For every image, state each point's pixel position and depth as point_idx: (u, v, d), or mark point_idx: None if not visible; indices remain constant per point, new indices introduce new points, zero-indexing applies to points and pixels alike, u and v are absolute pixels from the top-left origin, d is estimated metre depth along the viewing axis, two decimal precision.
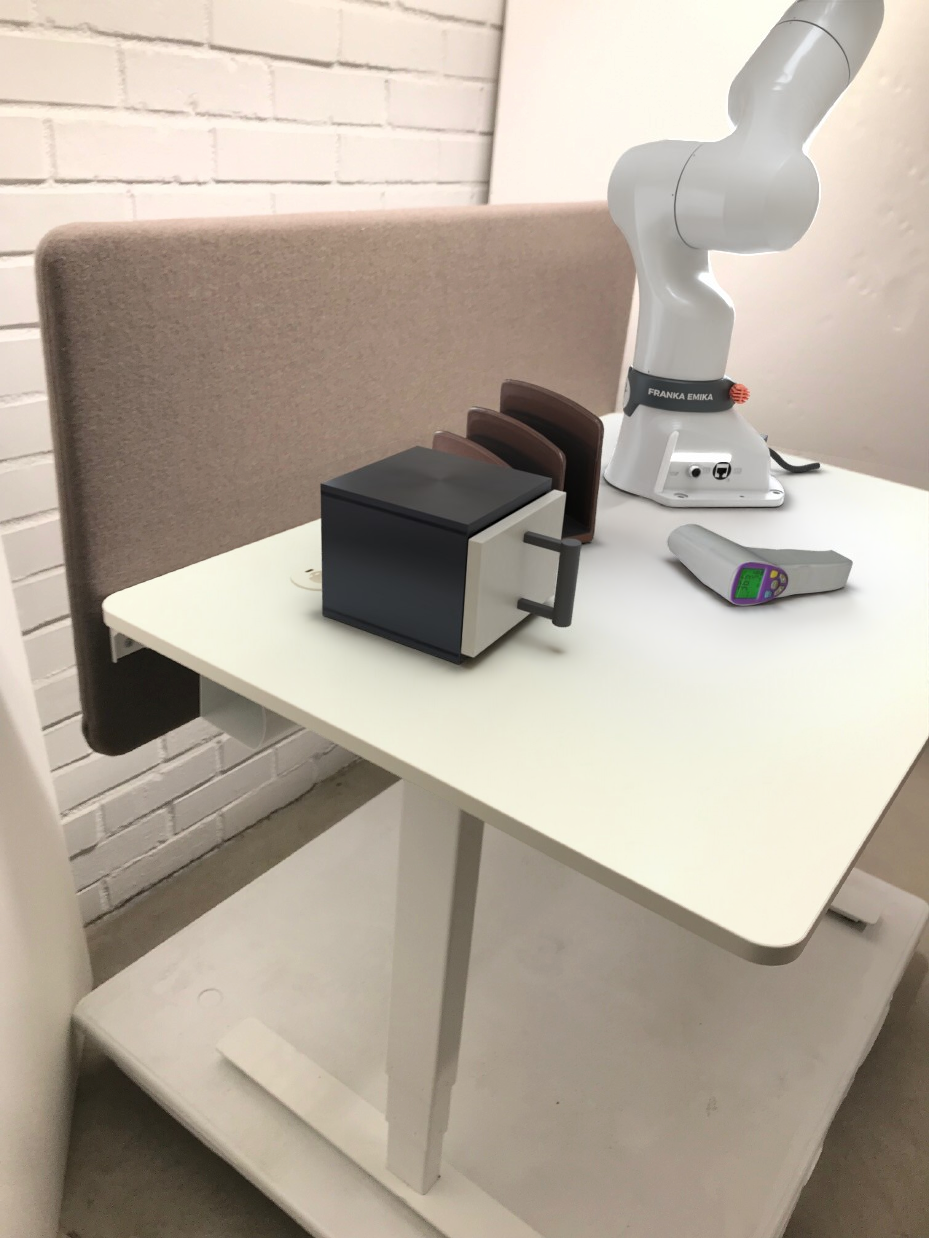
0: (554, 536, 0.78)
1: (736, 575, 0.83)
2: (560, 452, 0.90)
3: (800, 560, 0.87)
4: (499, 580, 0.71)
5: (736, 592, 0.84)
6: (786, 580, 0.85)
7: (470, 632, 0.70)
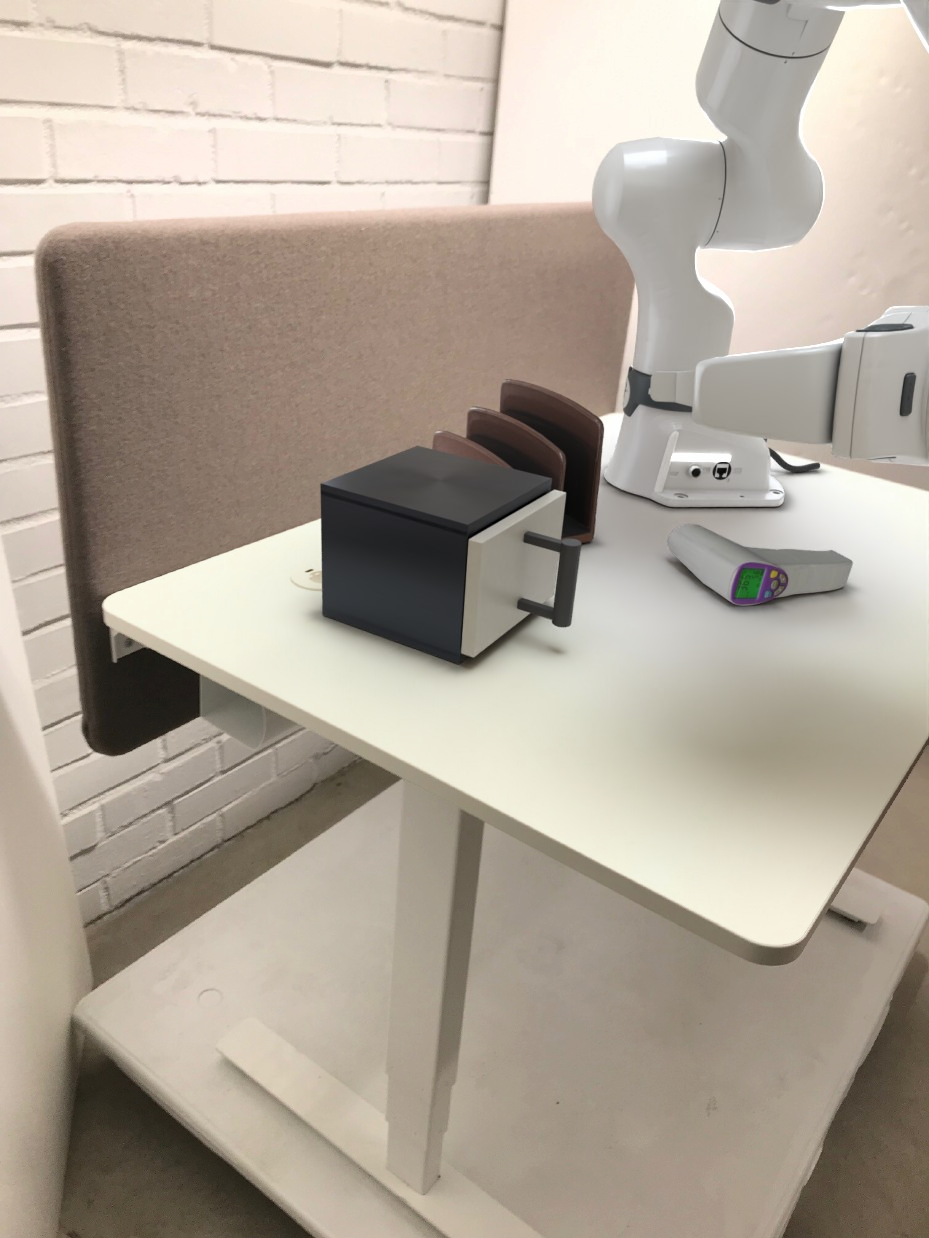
0: (554, 536, 0.78)
1: (736, 575, 0.83)
2: (560, 452, 0.90)
3: (800, 560, 0.87)
4: (499, 580, 0.71)
5: (736, 592, 0.84)
6: (786, 580, 0.85)
7: (470, 632, 0.70)
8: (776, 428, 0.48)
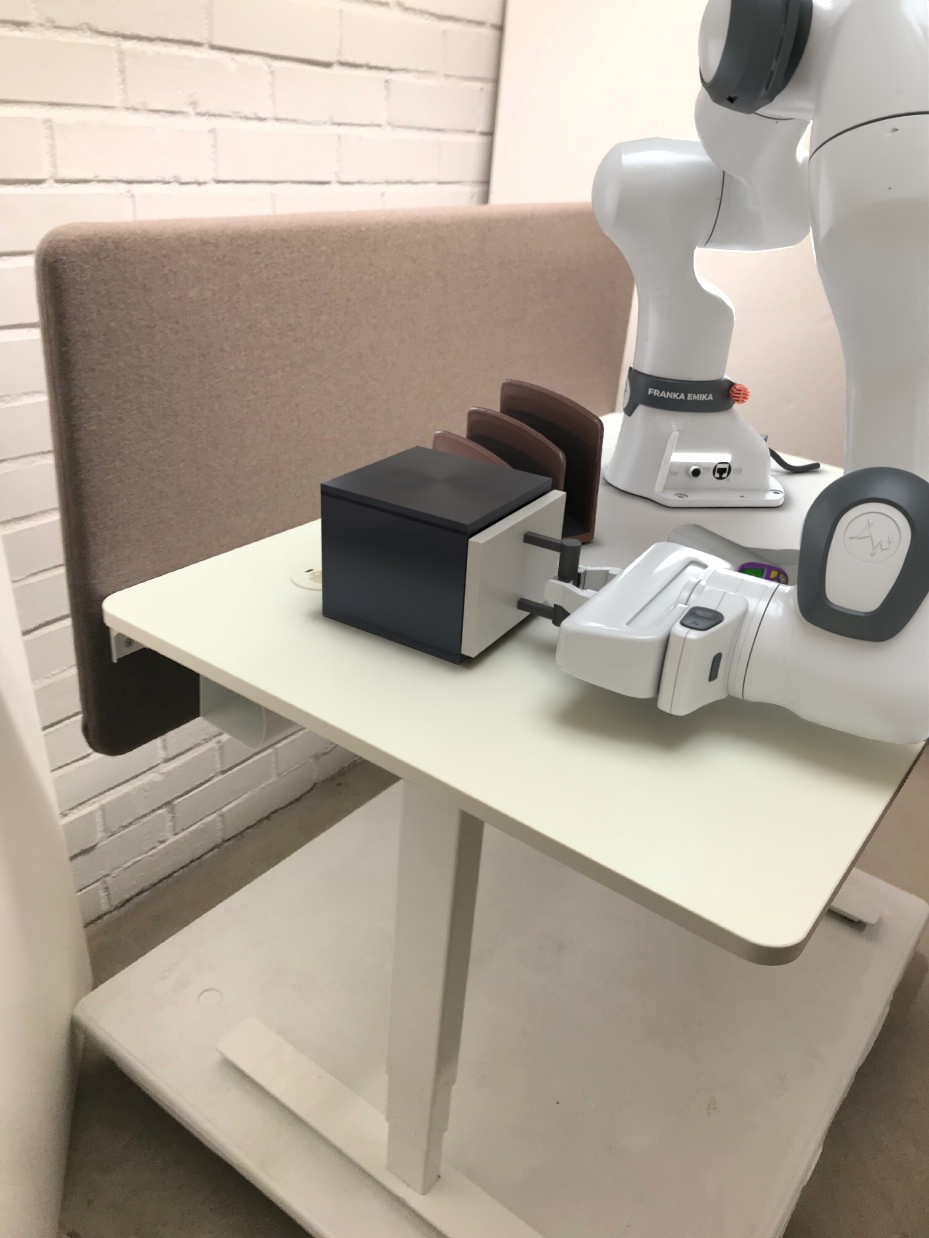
0: (554, 536, 0.78)
1: None
2: (560, 452, 0.90)
3: None
4: (499, 580, 0.71)
5: None
6: (786, 580, 0.85)
7: (470, 632, 0.70)
8: (618, 686, 0.62)
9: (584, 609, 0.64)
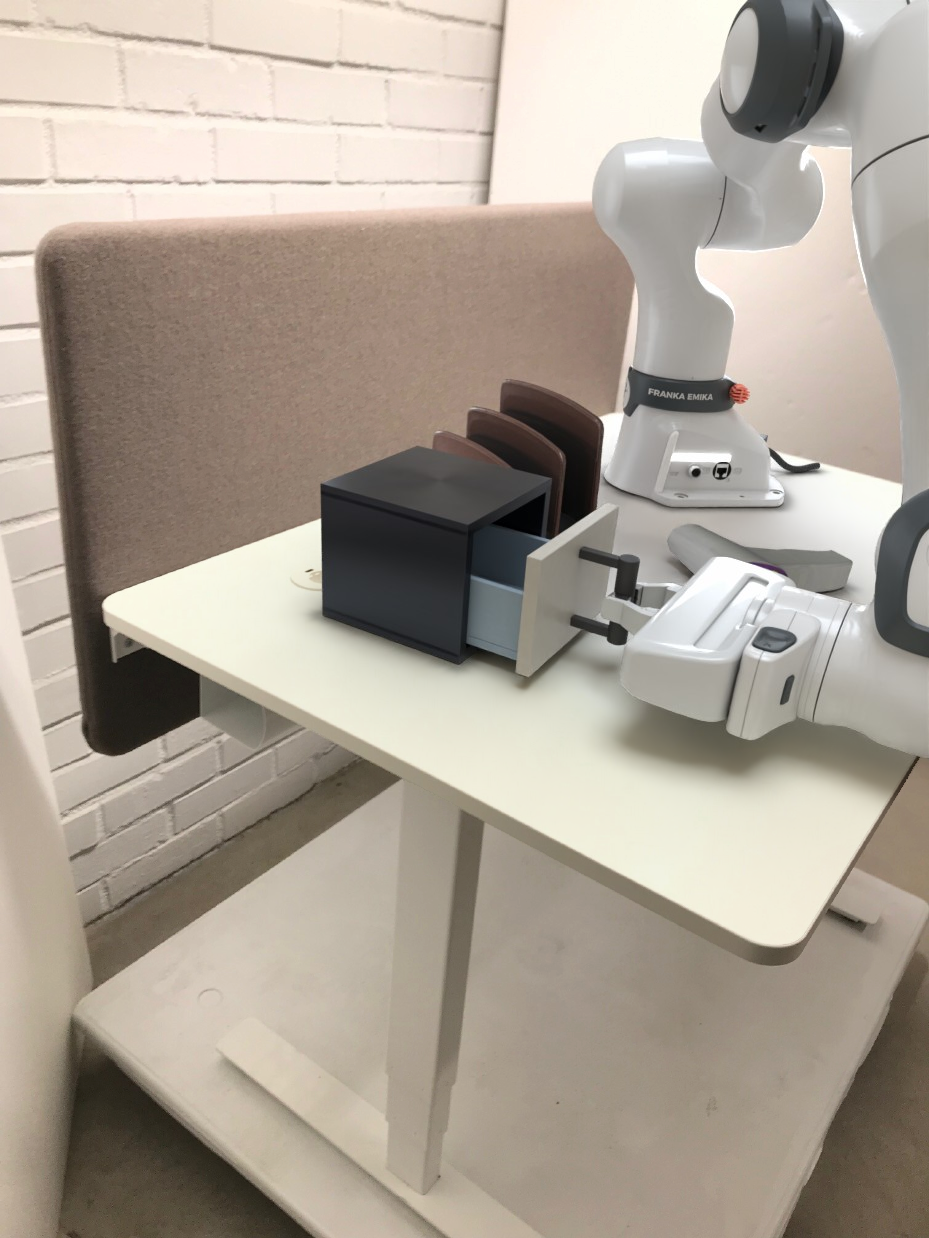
0: (606, 550, 0.76)
1: None
2: (560, 452, 0.90)
3: (800, 560, 0.87)
4: (555, 597, 0.69)
5: None
6: None
7: (526, 651, 0.68)
8: (686, 709, 0.60)
9: (648, 629, 0.62)
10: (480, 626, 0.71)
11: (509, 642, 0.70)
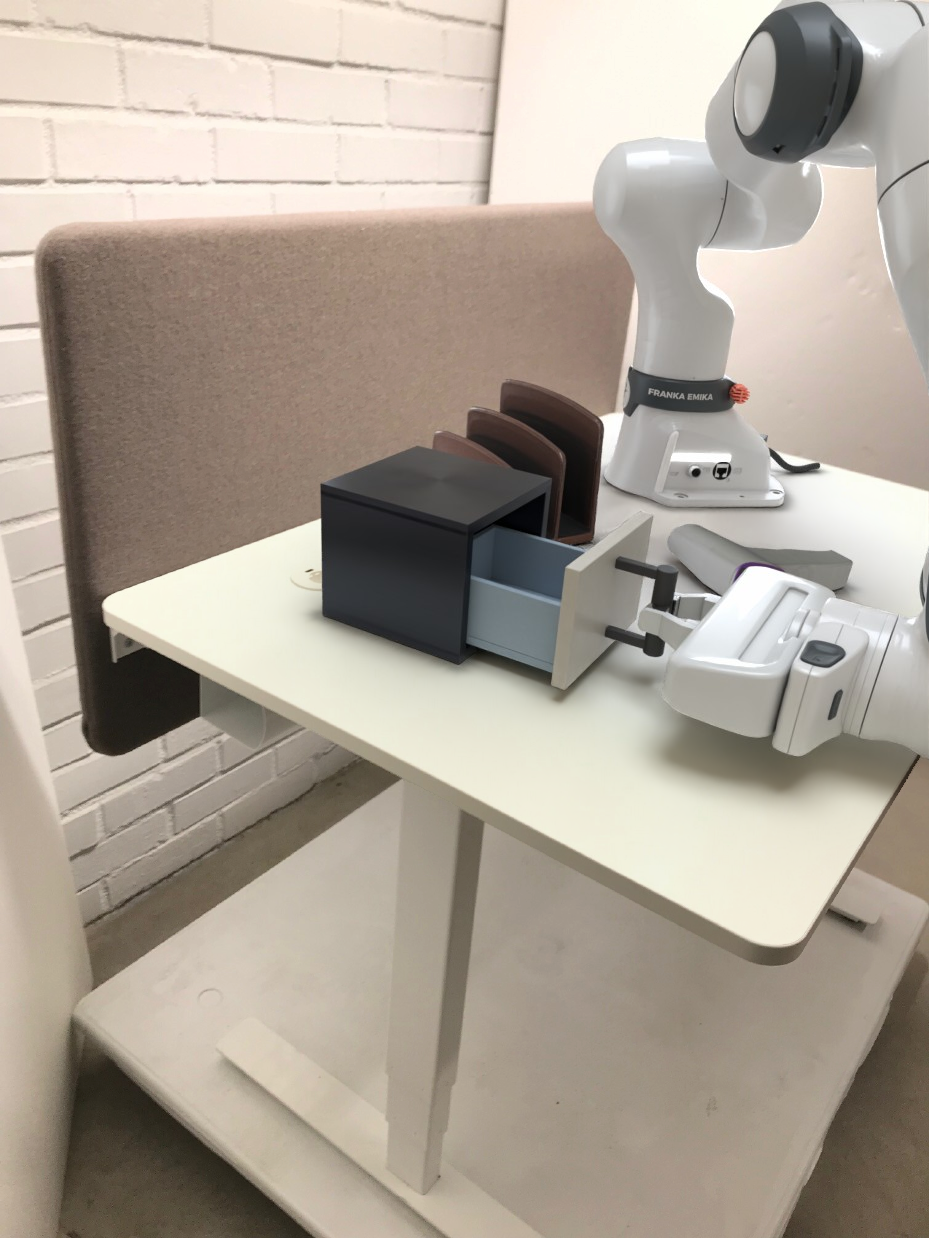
0: (640, 560, 0.74)
1: (736, 575, 0.83)
2: (560, 452, 0.90)
3: (800, 560, 0.87)
4: (591, 608, 0.67)
5: None
6: None
7: (562, 663, 0.67)
8: (731, 725, 0.58)
9: (691, 642, 0.61)
10: (513, 637, 0.70)
11: (543, 654, 0.69)
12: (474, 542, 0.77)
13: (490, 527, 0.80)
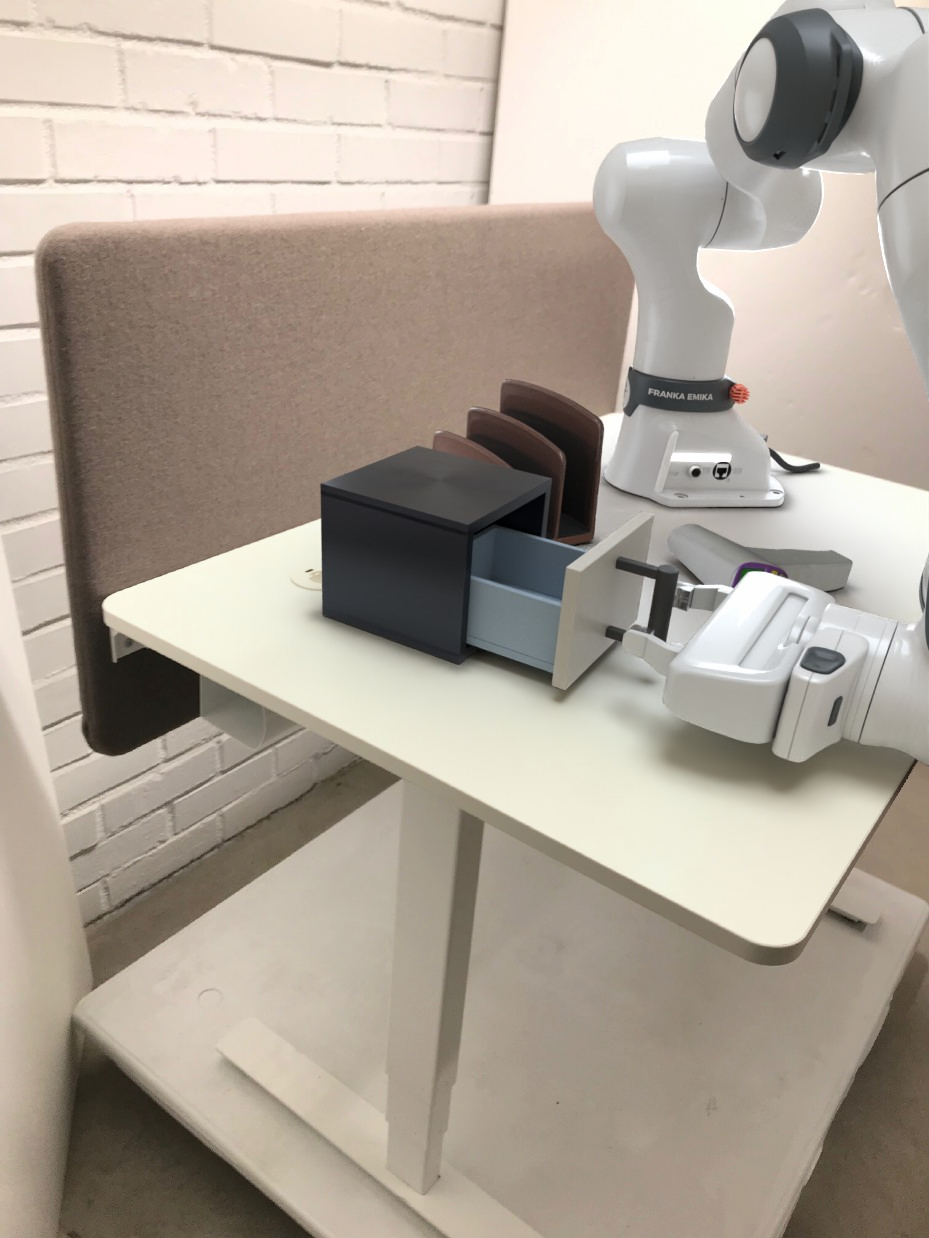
0: (641, 560, 0.74)
1: (736, 575, 0.83)
2: (560, 452, 0.90)
3: (800, 560, 0.87)
4: (592, 608, 0.67)
5: None
6: None
7: (563, 664, 0.67)
8: (732, 731, 0.59)
9: (691, 648, 0.61)
10: (514, 637, 0.70)
11: (544, 654, 0.69)
12: (475, 542, 0.77)
13: (490, 527, 0.80)
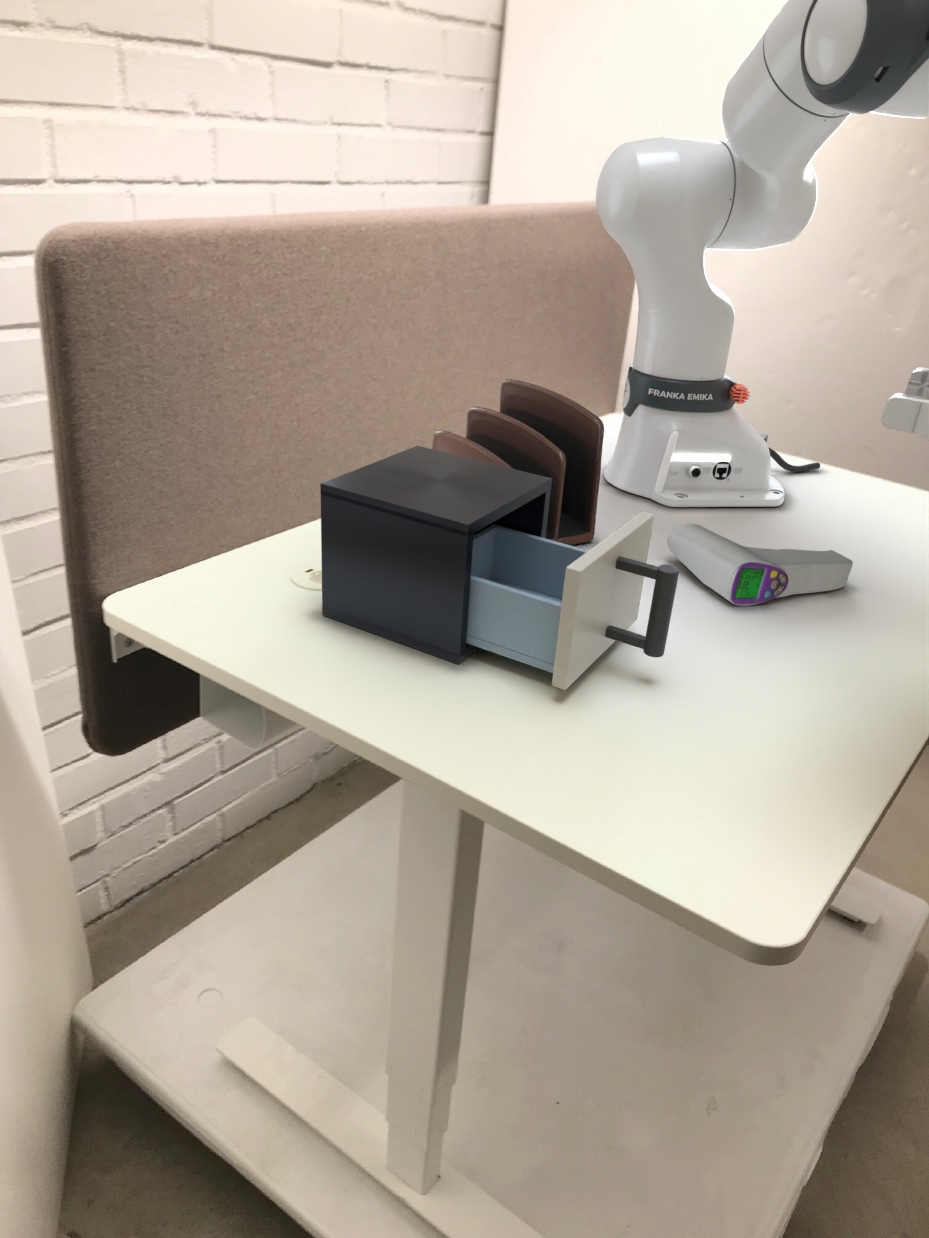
0: (641, 560, 0.74)
1: (736, 575, 0.83)
2: (560, 452, 0.90)
3: (800, 560, 0.87)
4: (592, 608, 0.67)
5: (736, 592, 0.84)
6: (786, 580, 0.85)
7: (563, 664, 0.67)
8: None
9: None
10: (514, 637, 0.70)
11: (544, 654, 0.69)
12: (475, 542, 0.77)
13: (490, 527, 0.80)
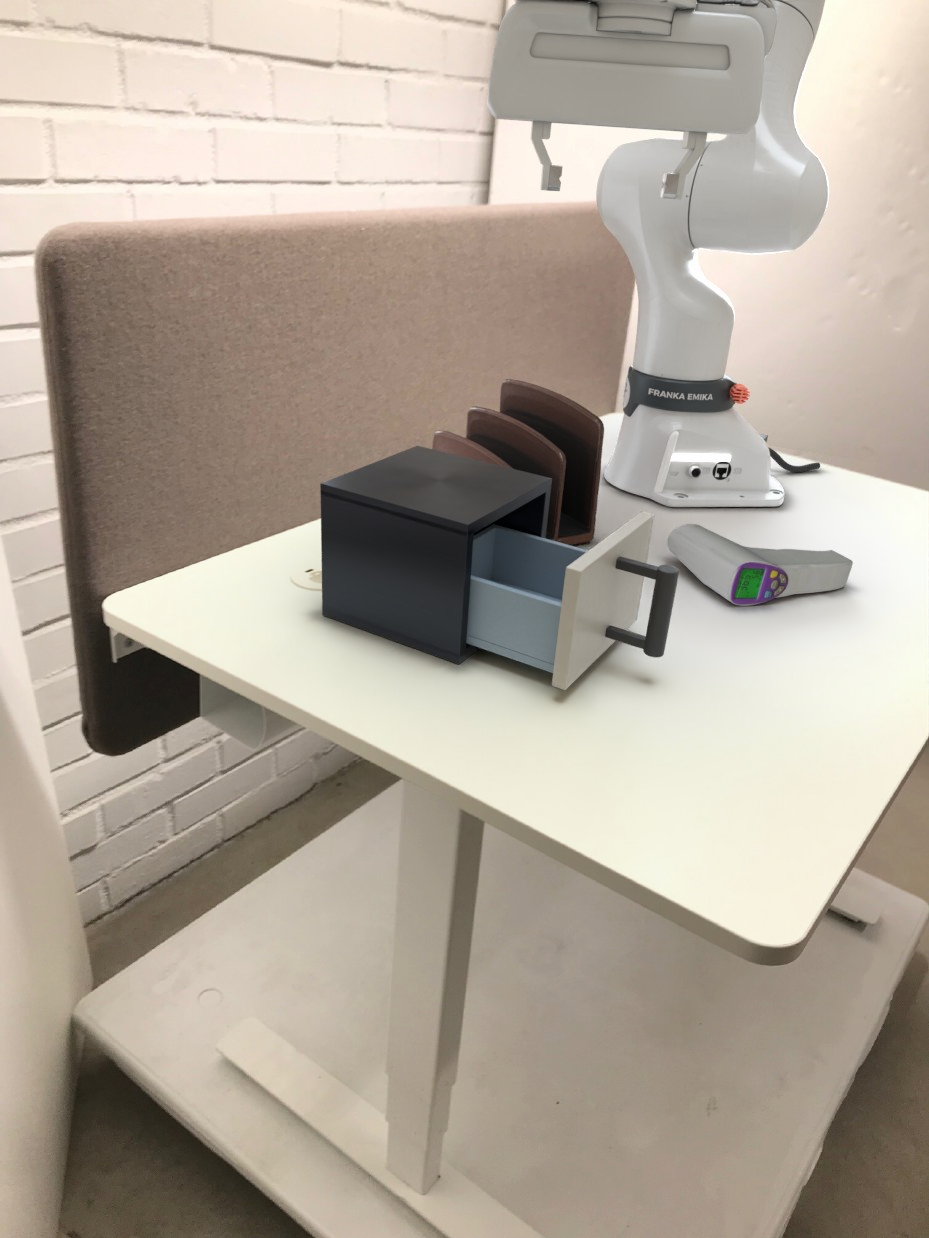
0: (641, 560, 0.74)
1: (736, 575, 0.83)
2: (560, 452, 0.90)
3: (800, 560, 0.87)
4: (592, 608, 0.67)
5: (736, 592, 0.84)
6: (786, 580, 0.85)
7: (563, 664, 0.67)
8: None
9: None
10: (514, 637, 0.70)
11: (544, 654, 0.69)
12: (475, 542, 0.77)
13: (490, 527, 0.80)
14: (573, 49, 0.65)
